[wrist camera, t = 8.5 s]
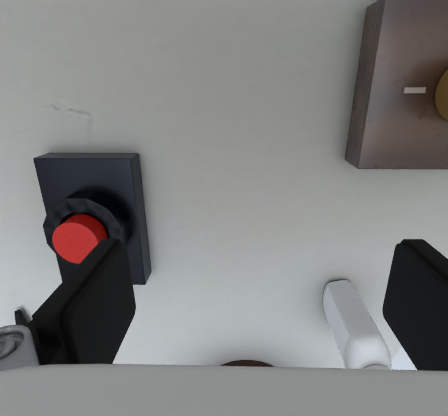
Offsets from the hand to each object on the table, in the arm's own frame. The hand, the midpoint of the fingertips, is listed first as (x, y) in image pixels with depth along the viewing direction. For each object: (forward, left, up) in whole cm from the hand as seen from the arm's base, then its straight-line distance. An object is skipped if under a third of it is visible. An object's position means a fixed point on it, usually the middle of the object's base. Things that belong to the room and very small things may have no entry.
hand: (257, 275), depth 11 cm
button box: (+5, -13, -17) cm, 22 cm away
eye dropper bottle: (+14, +10, -17) cm, 24 cm away
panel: (-6, +13, -17) cm, 22 cm away
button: (+5, -13, -13) cm, 19 cm away
